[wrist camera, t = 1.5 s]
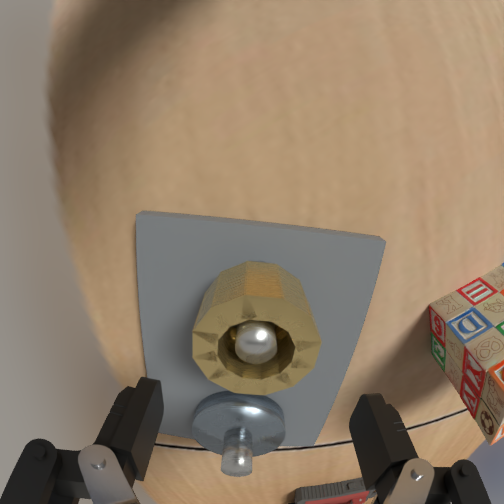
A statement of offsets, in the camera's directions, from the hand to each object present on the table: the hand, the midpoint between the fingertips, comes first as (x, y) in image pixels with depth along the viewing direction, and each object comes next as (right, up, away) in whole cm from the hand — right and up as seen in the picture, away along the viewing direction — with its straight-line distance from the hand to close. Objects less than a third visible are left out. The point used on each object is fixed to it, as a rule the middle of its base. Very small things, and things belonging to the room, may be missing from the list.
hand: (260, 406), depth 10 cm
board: (-1, -2, +12) cm, 12 cm away
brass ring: (0, +3, +7) cm, 7 cm away
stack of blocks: (+25, +3, +10) cm, 27 cm away
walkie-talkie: (+15, -31, +22) cm, 41 cm away
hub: (-1, -9, +13) cm, 16 cm away
